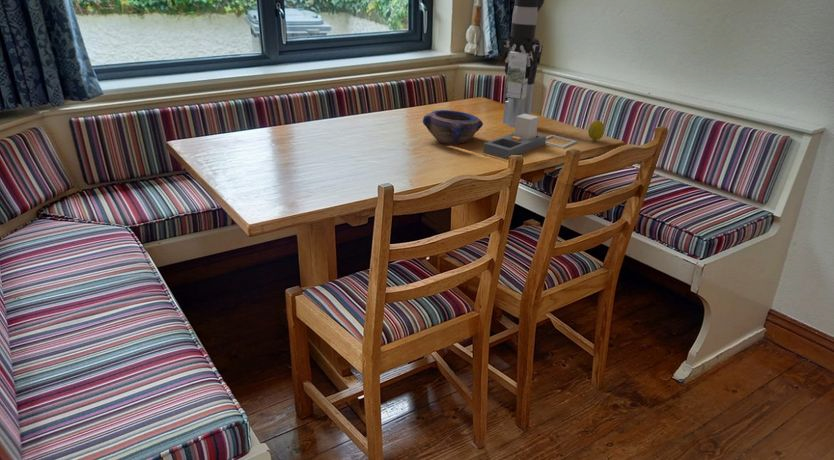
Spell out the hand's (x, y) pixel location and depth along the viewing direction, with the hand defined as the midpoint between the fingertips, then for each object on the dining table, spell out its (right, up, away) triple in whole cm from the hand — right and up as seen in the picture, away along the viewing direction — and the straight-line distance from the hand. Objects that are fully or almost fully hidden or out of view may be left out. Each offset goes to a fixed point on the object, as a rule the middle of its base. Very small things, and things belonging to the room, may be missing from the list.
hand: (517, 76), depth 196 cm
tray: (+18, -19, +24) cm, 35 cm away
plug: (+5, -19, +19) cm, 27 cm away
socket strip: (+1, -22, +15) cm, 27 cm away
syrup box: (0, -6, +3) cm, 7 cm away
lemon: (+33, -17, +30) cm, 48 cm away
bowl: (-20, -18, +22) cm, 34 cm away
